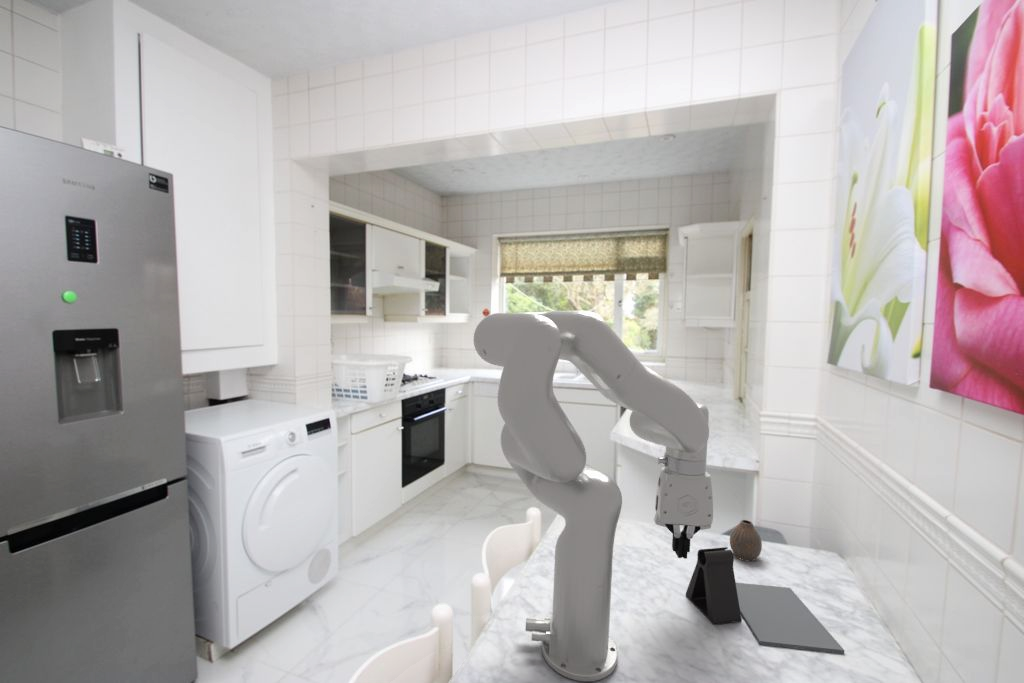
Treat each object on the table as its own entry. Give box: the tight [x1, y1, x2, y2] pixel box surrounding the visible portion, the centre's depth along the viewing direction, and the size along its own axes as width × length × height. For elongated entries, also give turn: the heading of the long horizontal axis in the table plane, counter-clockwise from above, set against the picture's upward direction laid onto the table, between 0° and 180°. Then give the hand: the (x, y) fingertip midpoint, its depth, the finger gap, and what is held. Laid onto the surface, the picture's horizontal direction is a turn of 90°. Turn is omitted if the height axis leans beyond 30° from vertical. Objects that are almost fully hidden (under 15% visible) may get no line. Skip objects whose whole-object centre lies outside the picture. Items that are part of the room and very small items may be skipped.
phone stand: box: [685, 546, 742, 625], centre depth 86 cm, size 9×6×12 cm, turn 12°
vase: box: [729, 519, 763, 562], centre depth 107 cm, size 7×7×9 cm
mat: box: [736, 582, 845, 654], centre depth 85 cm, size 14×18×1 cm
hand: (680, 554), depth 87 cm, fingers closed
